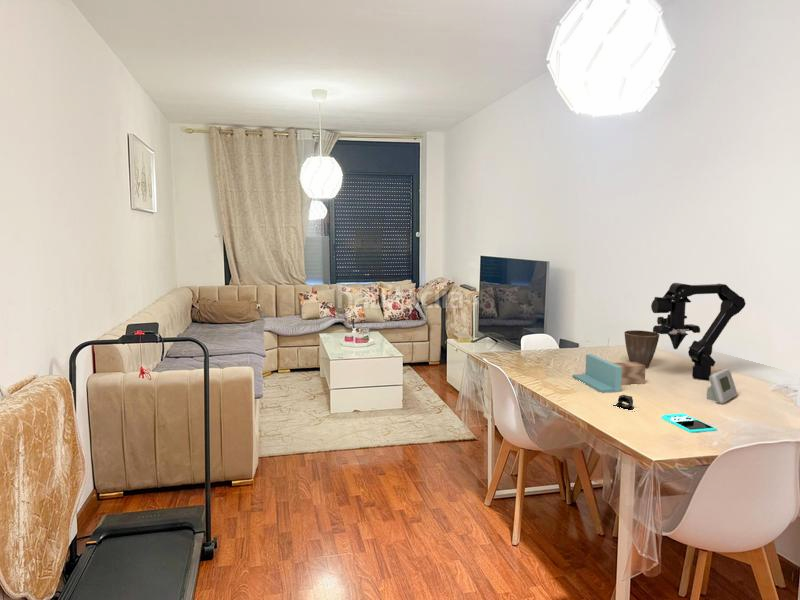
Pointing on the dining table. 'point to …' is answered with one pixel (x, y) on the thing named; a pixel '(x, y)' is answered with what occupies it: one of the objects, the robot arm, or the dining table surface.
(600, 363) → the teal board
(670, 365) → the dining table surface
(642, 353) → the plant pot
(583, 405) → the dining table surface
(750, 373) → the dining table surface
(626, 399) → the black block on plate
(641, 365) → the walnut block
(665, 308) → the robot arm
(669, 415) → the handheld game console
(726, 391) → the digital clock
